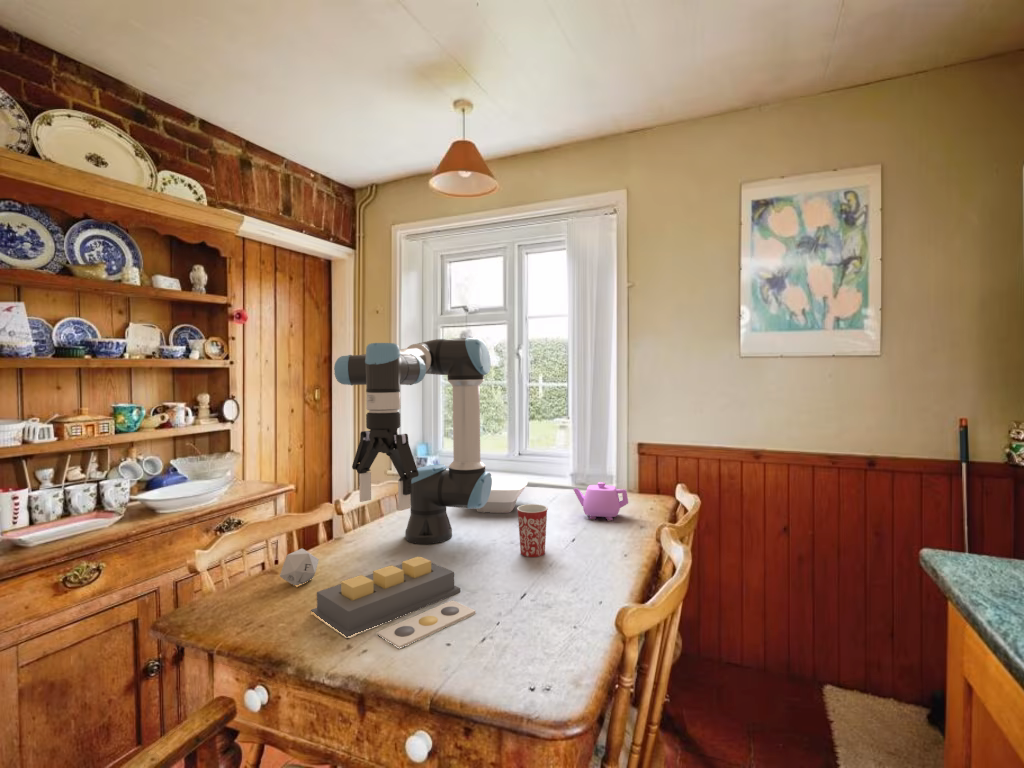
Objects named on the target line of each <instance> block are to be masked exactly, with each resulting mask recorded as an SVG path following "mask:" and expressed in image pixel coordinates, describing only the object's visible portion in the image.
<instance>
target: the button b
mask: <svg viewBox="0 0 1024 768" xmlns="http://www.w3.org/2000/svg"><path fill="white" fill-rule="evenodd" d="M395 566H396V565H395ZM395 566H394V565H393V564H391V565H388V566H385V567H382V568H379V569H376V570H373V571H372V574H373V583H374V584H376V585H378V586H379V587H381V588H383V589H386V588H389V587H392V586H395V585H397V584H400V583H403V582H404V570H401V569H399V568H397V567H395Z"/></svg>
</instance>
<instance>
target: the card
mask: <svg viewBox="0 0 1024 768" xmlns="http://www.w3.org/2000/svg"><path fill="white" fill-rule="evenodd" d="M476 612H477V610H475V609H473V608H471V607H469V606H466V605H465V604H462V603H460V602H458V601H456V600H453V599H452V600H449V601H447V602H445V603H443V604H440V605H437V606H435V607H433V608H430V609H428V610H426V611H424V612H420V613H419V614H416V615H413V616H412V617H409V618H407V619H405V620H403V621H400V622H398V623H396V624H393V625H391V626H388V627H386V628H384V629H381V630H379V631H376V635H377V634H378V635H380V636H381V637H383V638H384V639H386V640H387V641H389V642H391V643H392V644H394V645H396V646H397V647H399V648H400V647H403V646H405V645H408V644H410V643H412V642H414V641H416V642H418V641H420V640H422V639H424V638H423V637H425V638H426V636H427V637H428V635H429V636H431V635H432V634H435V633H437V632H439V631H442V630H443V628H444V629H445V627H446V628H448V627H450V626H452V625H454V624H456V623H458V622H460V621H463V620H465V619H468V618H469V617H471V616H473V615H475V614H476ZM381 637H380V638H381ZM421 638H422V639H421ZM384 639H383V640H384ZM419 639H420V640H419ZM417 640H418V641H417ZM387 641H386V642H387ZM389 642H388V643H389ZM414 643H415V642H414ZM392 644H391V645H392ZM412 644H413V643H412ZM410 645H411V644H410ZM408 646H409V645H408ZM405 647H406V646H405ZM403 648H404V647H403Z"/></svg>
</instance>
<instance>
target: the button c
mask: <svg viewBox="0 0 1024 768" xmlns="http://www.w3.org/2000/svg"><path fill="white" fill-rule="evenodd" d="M431 563H432V560H429V559H427V558H425V557H421V556H415V557H412V558H410V559H406V560H403V561H401V564H402V570H404V574H405V575H407V576H410V577H412V578H417V577H419V576H422V575H425V574H428V573H431Z"/></svg>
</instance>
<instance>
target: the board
mask: <svg viewBox="0 0 1024 768" xmlns="http://www.w3.org/2000/svg"><path fill="white" fill-rule="evenodd" d="M395 567H397V568H399V569H401V570H402V563H401V564H397V565H395ZM364 576H365V577H367V578H369V579H371V580H373V573H370V574H367V575H364ZM373 589H374V593H372V594H370V595H367V596H364V597H361V598H358V599H356V600H353V601H351V600H350V599H348V598H346V597H345V596H343V595H341V583H340V584H337V585H333V586H331V587H328V588H324V589H321V590H318V591H316V607H315V608H313V609H310V612H311V611H312V612H314V613H315V614H316V615H317V616H319V617H320V618H321V619H323V620H324V621H325V622H327V623H328V624H330V625H331V626H332V627H334V628H335V629H337V630H338V631H339V632H341V633H342V634H344V635H345V636H346V637H348V636H351V635H353V634H355V633H358V632H361V631H364V630H366V629H369V628H372V627H374V626H377V625H380V624H382V623H385V622H387V623H389V622H388V621H390V620H392V621H394V620H393V619H395V618H397V617H399V618H401V617H400V616H402V617H404V616H406V615H405V614H407V615H409V614H411V613H414V612H416V611H419V610H420V609H423V608H425V607H428V606H430V605H433V604H435V603H438V602H440V601H442V600H444V599H446V598H449V597H452V596H455V595H457V594H459V593H461V587H459V586H457V585H455V571H454V570H450V569H448V568H446V567H442V566H440V565H438V564H435V563H433V562H431V573H428V574H425V575H422V576H419V577H417V578H412V577H410V576H407V575H405V574H404V582H403V583H400V584H397V585H395V586H392V587H389V588H386V589H383V588H381V587H379V586H378V585H376V584H374V583H373ZM418 609H419V610H418ZM415 610H416V611H415ZM413 611H414V612H413ZM410 612H411V613H410ZM408 613H409V614H408ZM403 615H404V616H403ZM397 619H398V618H397ZM395 620H396V619H395ZM390 622H391V621H390ZM385 624H386V623H385ZM380 626H381V625H380Z"/></svg>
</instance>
